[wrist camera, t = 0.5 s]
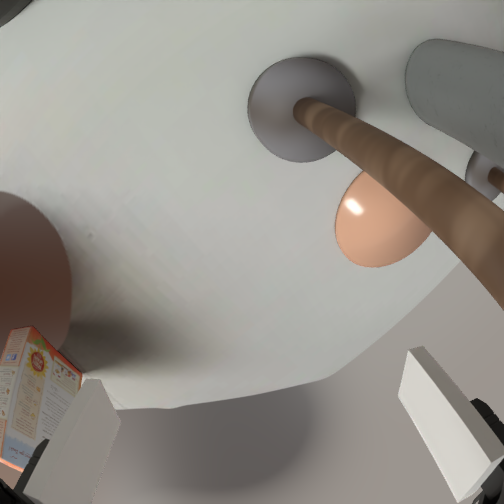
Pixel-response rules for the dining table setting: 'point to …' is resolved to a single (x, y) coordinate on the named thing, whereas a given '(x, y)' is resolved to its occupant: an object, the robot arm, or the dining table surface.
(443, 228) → the walnut post
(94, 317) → the dining table surface
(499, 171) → the walnut post
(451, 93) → the water bottle
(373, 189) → the glossy peach dome
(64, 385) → the cracker box
